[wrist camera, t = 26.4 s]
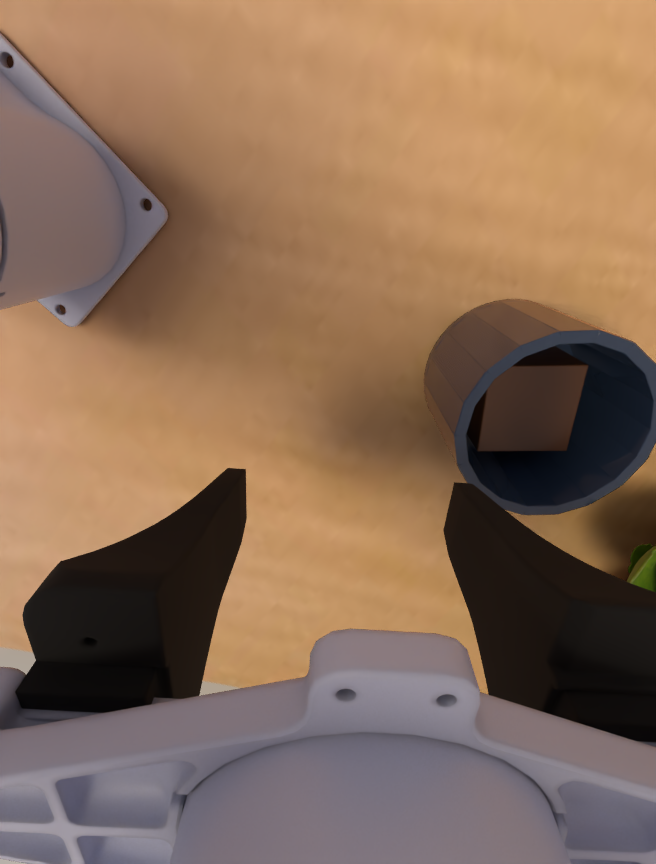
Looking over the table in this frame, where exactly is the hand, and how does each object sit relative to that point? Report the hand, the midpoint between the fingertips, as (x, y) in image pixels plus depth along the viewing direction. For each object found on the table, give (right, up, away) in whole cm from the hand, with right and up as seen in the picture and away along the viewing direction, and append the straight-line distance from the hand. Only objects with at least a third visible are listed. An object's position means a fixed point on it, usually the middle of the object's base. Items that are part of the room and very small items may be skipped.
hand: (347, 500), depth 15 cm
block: (+8, +5, +8) cm, 13 cm away
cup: (+9, +5, +9) cm, 14 cm away
